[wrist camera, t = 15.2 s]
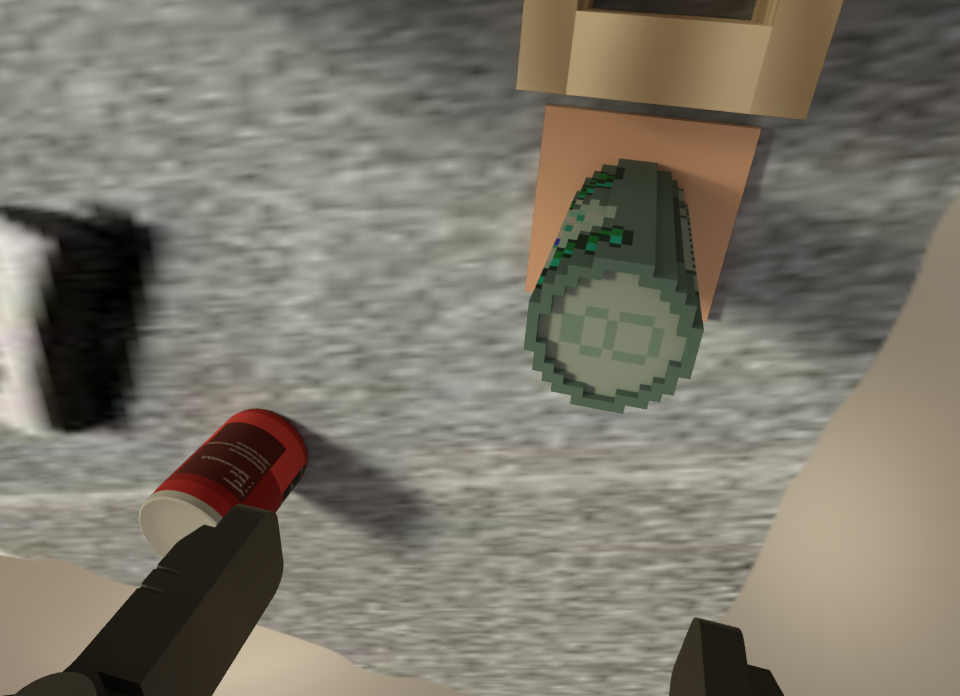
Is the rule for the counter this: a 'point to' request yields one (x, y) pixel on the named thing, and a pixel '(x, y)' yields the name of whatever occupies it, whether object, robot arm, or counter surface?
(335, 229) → the counter surface
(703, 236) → the plate
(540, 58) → the bore block
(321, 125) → the counter surface
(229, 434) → the canned food
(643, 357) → the can
